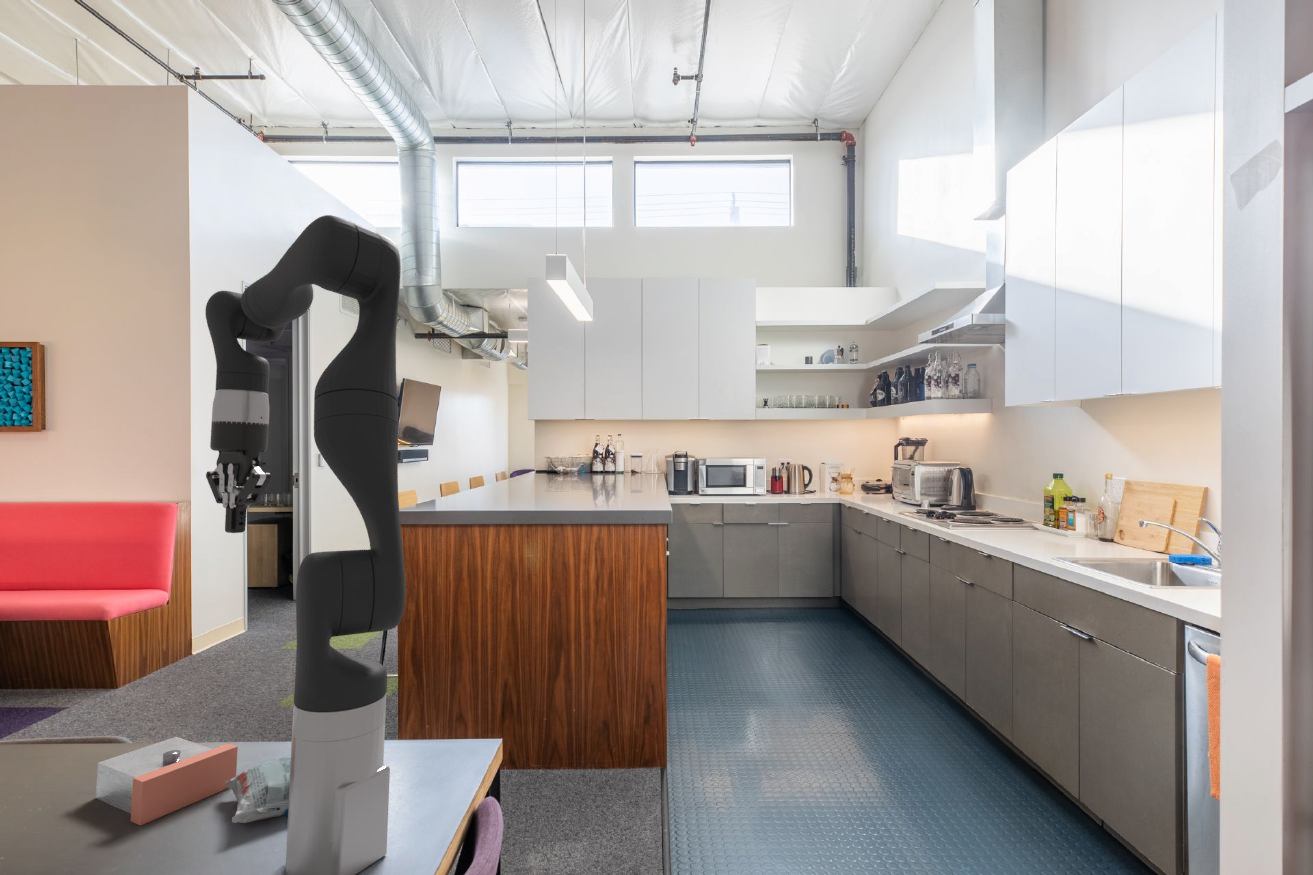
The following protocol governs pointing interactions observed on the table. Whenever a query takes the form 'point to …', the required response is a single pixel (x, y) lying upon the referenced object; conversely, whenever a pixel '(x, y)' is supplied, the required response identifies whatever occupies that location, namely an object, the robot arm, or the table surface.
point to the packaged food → (262, 791)
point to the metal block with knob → (139, 768)
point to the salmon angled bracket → (182, 783)
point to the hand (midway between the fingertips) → (234, 532)
